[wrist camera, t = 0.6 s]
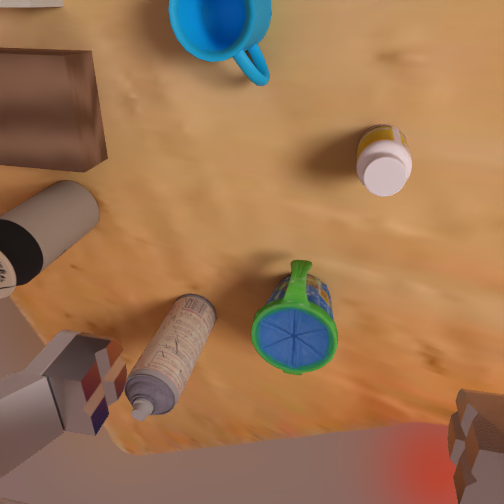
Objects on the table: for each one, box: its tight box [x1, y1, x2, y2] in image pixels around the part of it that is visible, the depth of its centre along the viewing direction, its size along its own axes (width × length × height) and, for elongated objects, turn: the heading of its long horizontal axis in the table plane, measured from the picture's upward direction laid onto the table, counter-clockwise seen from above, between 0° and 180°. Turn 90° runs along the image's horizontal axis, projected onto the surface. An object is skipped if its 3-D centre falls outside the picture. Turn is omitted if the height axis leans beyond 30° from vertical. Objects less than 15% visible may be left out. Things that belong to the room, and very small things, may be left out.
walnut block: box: [0, 48, 108, 172], centre depth 55 cm, size 13×13×6 cm
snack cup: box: [251, 260, 338, 375], centre depth 58 cm, size 16×10×10 cm
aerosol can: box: [124, 294, 216, 421], centre depth 60 cm, size 7×7×20 cm
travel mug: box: [0, 181, 99, 298], centre depth 56 cm, size 8×8×18 cm
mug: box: [168, 0, 272, 86], centre depth 45 cm, size 12×8×8 cm
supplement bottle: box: [356, 125, 412, 197], centre depth 47 cm, size 5×5×10 cm
